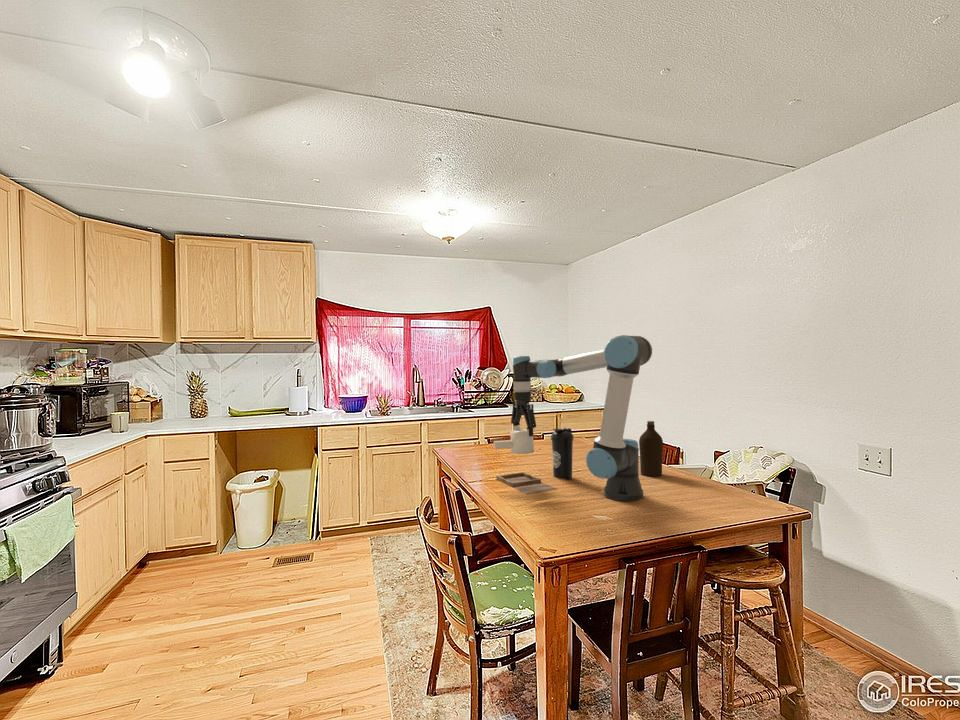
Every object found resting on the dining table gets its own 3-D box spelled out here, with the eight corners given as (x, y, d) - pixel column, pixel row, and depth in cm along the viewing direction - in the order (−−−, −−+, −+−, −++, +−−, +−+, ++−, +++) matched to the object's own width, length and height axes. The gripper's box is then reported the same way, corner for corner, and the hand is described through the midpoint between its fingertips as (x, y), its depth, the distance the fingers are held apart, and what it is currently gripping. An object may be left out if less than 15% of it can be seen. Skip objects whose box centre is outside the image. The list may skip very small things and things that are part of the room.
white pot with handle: (529, 448, 213) (529, 428, 213) (537, 453, 204) (536, 432, 204) (491, 451, 210) (491, 431, 210) (497, 455, 200) (496, 434, 200)
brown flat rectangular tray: (558, 491, 198) (557, 485, 198) (527, 496, 191) (527, 491, 191) (523, 476, 222) (523, 471, 222) (495, 481, 215) (495, 475, 215)
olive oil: (666, 477, 218) (665, 423, 217) (642, 477, 219) (641, 423, 218) (659, 471, 228) (659, 419, 228) (637, 471, 229) (636, 419, 229)
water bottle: (547, 476, 222) (546, 427, 221) (565, 474, 226) (564, 426, 226) (559, 482, 212) (559, 430, 212) (578, 479, 217) (577, 429, 216)
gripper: (543, 392, 199) (545, 444, 199) (516, 389, 220) (518, 437, 220) (528, 393, 196) (530, 446, 196) (502, 390, 216) (503, 439, 216)
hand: (523, 441), depth 208 cm, fingers closed on white pot with handle, 10 cm apart
